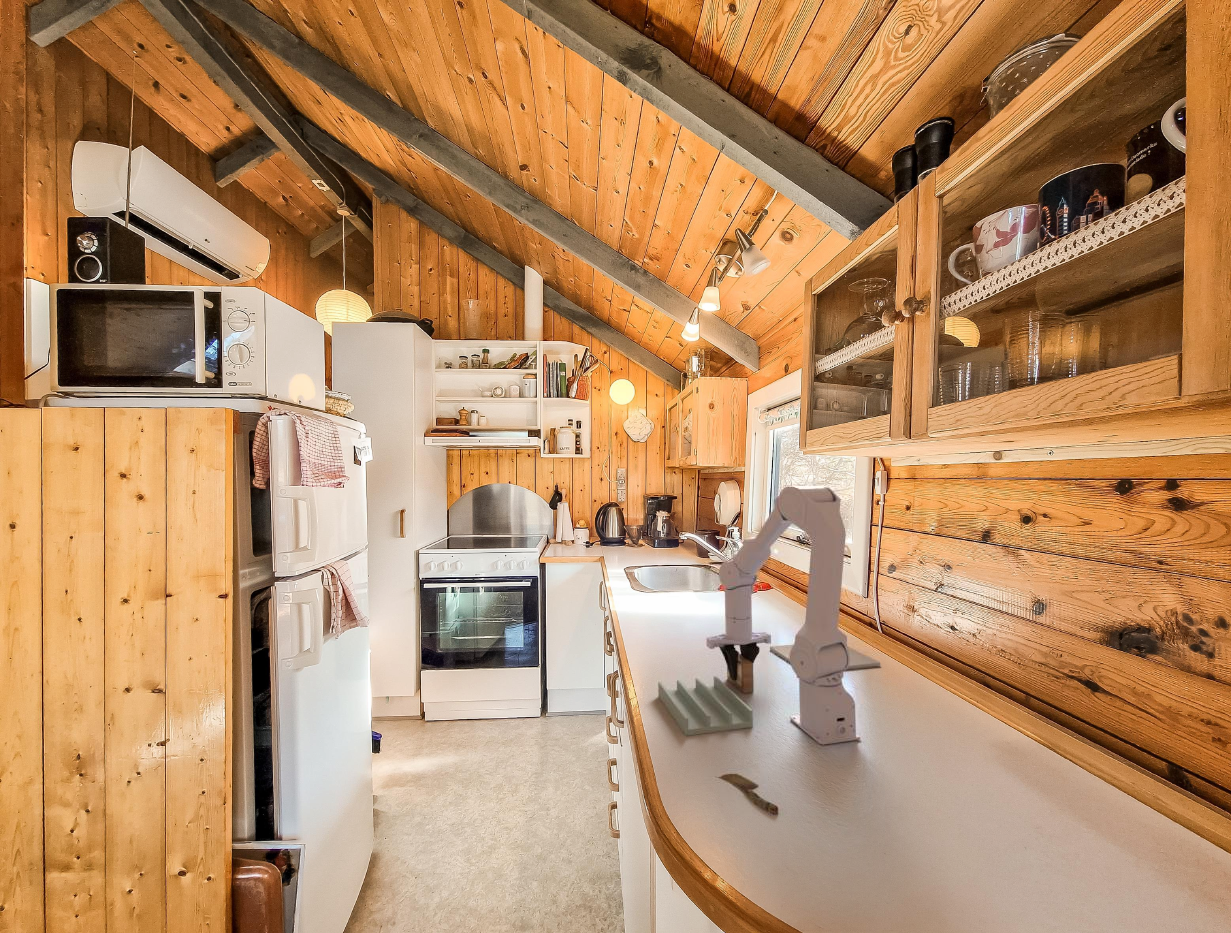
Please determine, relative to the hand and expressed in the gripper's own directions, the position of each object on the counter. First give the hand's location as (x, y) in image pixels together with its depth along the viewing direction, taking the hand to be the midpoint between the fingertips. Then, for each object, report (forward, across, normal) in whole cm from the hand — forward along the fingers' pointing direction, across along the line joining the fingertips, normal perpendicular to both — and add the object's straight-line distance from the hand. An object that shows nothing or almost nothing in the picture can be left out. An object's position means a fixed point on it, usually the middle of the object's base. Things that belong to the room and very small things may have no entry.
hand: (739, 678), depth 106 cm
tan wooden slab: (+2, 0, 0) cm, 2 cm away
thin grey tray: (+2, -28, -10) cm, 30 cm away
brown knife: (+2, +16, +33) cm, 37 cm away
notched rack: (+2, +12, +9) cm, 15 cm away
